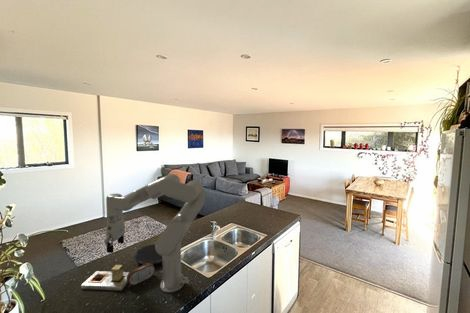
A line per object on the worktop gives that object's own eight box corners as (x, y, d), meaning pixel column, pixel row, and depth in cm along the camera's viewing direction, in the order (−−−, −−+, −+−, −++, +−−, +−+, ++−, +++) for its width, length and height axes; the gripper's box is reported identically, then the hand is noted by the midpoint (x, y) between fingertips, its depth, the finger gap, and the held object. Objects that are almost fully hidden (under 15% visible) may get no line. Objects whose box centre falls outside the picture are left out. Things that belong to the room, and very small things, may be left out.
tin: (153, 273, 130) (153, 260, 129) (156, 276, 128) (155, 262, 127) (126, 286, 120) (125, 271, 119) (128, 289, 117) (128, 274, 116)
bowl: (160, 246, 160) (160, 240, 160) (176, 260, 145) (176, 253, 144) (128, 258, 145) (128, 251, 144) (142, 275, 130) (142, 267, 129)
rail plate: (133, 275, 128) (133, 271, 128) (121, 290, 116) (121, 286, 116) (96, 274, 129) (96, 270, 129) (81, 288, 117) (81, 284, 117)
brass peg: (123, 280, 124) (122, 265, 123) (119, 285, 120) (118, 269, 119) (116, 279, 125) (115, 264, 124) (112, 284, 121) (111, 269, 120)
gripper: (111, 224, 110) (112, 257, 111) (130, 211, 127) (130, 240, 129) (97, 223, 110) (98, 256, 112) (117, 211, 127) (118, 239, 129)
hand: (115, 247), depth 120 cm, fingers open, 9 cm apart
